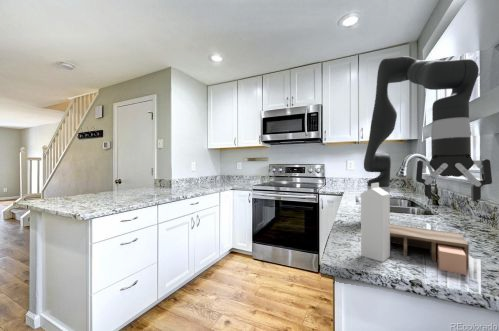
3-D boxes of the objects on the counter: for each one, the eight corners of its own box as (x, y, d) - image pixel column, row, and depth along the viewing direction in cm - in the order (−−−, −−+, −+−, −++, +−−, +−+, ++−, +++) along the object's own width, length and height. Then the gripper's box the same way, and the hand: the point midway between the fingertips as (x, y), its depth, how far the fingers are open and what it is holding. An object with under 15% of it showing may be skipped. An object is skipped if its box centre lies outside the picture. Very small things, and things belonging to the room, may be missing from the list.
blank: (436, 257, 65) (436, 240, 65) (459, 261, 62) (459, 244, 62) (439, 270, 57) (439, 250, 57) (466, 275, 54) (466, 255, 54)
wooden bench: (382, 240, 79) (382, 223, 79) (460, 253, 67) (460, 233, 67) (378, 250, 70) (378, 231, 70) (468, 268, 57) (468, 244, 57)
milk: (361, 256, 66) (359, 183, 66) (369, 250, 70) (367, 181, 70) (383, 262, 61) (382, 184, 61) (390, 256, 65) (389, 182, 65)
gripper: (485, 137, 55) (486, 200, 55) (415, 141, 64) (416, 196, 64) (494, 133, 49) (495, 204, 49) (415, 138, 58) (416, 199, 58)
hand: (450, 200), depth 56 cm, fingers open, 8 cm apart
